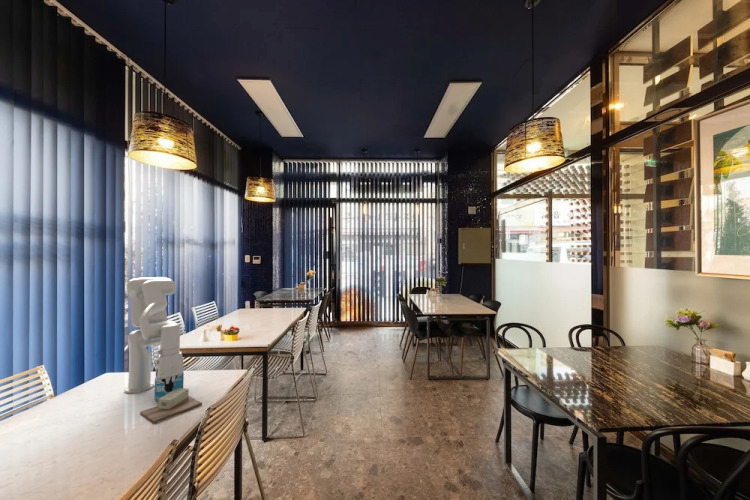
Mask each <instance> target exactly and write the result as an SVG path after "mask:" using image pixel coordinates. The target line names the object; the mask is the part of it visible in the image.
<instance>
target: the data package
mask: <svg viewBox="0 0 750 500" xmlns="http://www.w3.org/2000/svg"><path fill="white" fill-rule="evenodd" d="M184 375H185V374H184V371H183V373H182V375H180V376H178V377H177V378H176V379H175V381H174V384H173V390H172V391H174V390H175V389H177V388H184V382H185V381H184V380H185V379H184V377H185V376H184ZM169 379H170V377H169ZM155 380H156V377H155V378H154V395H153V397H154V398H153V399H154V402H158V399H160V398H162V397H163V396H165V395H167V394H168V393H170V392H166V391H165V383H164V382H162V381H161V382H157V381H155ZM172 391H171V392H172Z"/></svg>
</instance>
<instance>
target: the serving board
mask: <svg viewBox="0 0 750 500" xmlns="http://www.w3.org/2000/svg"><path fill="white" fill-rule="evenodd" d="M202 406H203V403H202V401H200V400H197V399H195V398H194V397H192V396H190V395H189V396H188V398H186V399H185V400H183V401H181V402H180V403H178V404H177V405H175V406H174V407H172V408H171V409H162V408H158V405H157V406H153V407H151V408H147V409H145V410H142V411H140V412H139V415H140V416H141V417H142V418H144V419H146V420H147V421H149V422H150V423H151V424H152V425H154V424H158V423H160V422H163V421H165V420H167V419H169V418H173V417H176V416H178V415H180V414H183V413H185V412H188V411H190V410H193V409H196V408H199V407H202Z"/></svg>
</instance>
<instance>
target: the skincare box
mask: <svg viewBox="0 0 750 500" xmlns="http://www.w3.org/2000/svg"><path fill="white" fill-rule="evenodd" d="M189 392H190V390H189V388H184V387H183V388H177V389H175V390H174V391H172V392H170V393H168V394H167V395H165V396H163V397H162V398H160V399H158V401H157V406H158V408H162V409H171V408H172V407H174V406H175V405H177V404H178V403H180V402H181V401H183V400H185V399H186V398H188V396H190V395H189V394H190V393H189Z"/></svg>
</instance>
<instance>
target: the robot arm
mask: <svg viewBox="0 0 750 500" xmlns="http://www.w3.org/2000/svg"><path fill="white" fill-rule="evenodd" d="M176 289H177V287H176V283H175V281H173V279H171V278H168V277H164V276H156V277H137V278H132V279H130V280H128V282H127V284H126V290H127V294H128V296H129V299H130V302H131V303H130V305H131V306H130V307H131V308H130V311H131V312H130V316H131V317H130V318H131V325H132V326H133V327H134V328H139V329H136V330H133V331H131V332H129V333H128V335H127V345H128V383H127V384H128V385H127V386H126V387H125V388H124V390H123V391H124V393H126V394H136V393H137V394H138V393H141V392H144V391H148V390H151V389H152V388H154V387H155V381H157V382H161V381H162V382H164V383H165V391H166V392H171V391H172V390H173V384H174V381H175V379H176V378H177V377H178V376H180V375H182V373H183V372H184V357H183V353H182V352H183V351H181V350H180V349H181V348H180V346H181V344H180V343H181V325H180V324H179V323H177V322H176V321H175V320H169V321H168V314H167V310H166V309H165V308H167V306H168V301H167V298H166V296H171V295H174V294H175V293H176ZM156 345H160V348H159V350H157V351H156V355H158V357H157V360H156V366H155V378H156V380H155V379H154V382H153V381H151V378H152V374H151V373H152V352H151V351H150V350H149V349H147V347H151V346H156ZM169 377H170V379H169Z"/></svg>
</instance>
